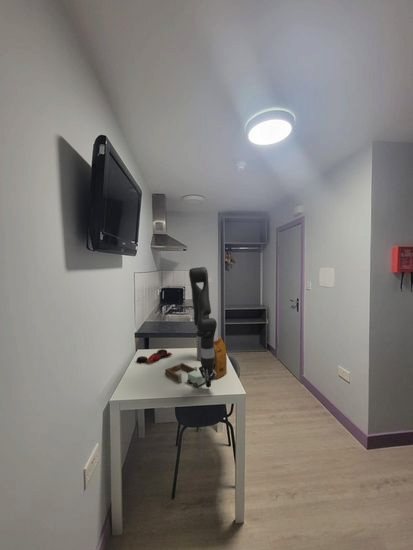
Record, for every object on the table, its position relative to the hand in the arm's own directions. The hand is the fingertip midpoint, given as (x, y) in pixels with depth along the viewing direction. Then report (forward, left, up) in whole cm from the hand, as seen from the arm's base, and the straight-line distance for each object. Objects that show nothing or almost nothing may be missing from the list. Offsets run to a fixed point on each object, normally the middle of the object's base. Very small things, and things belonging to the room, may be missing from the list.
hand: (208, 386), depth 127 cm
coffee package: (-16, -9, -2) cm, 18 cm away
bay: (0, -24, -2) cm, 24 cm away
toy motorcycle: (-3, -58, -2) cm, 58 cm away
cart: (0, -10, -2) cm, 10 cm away
